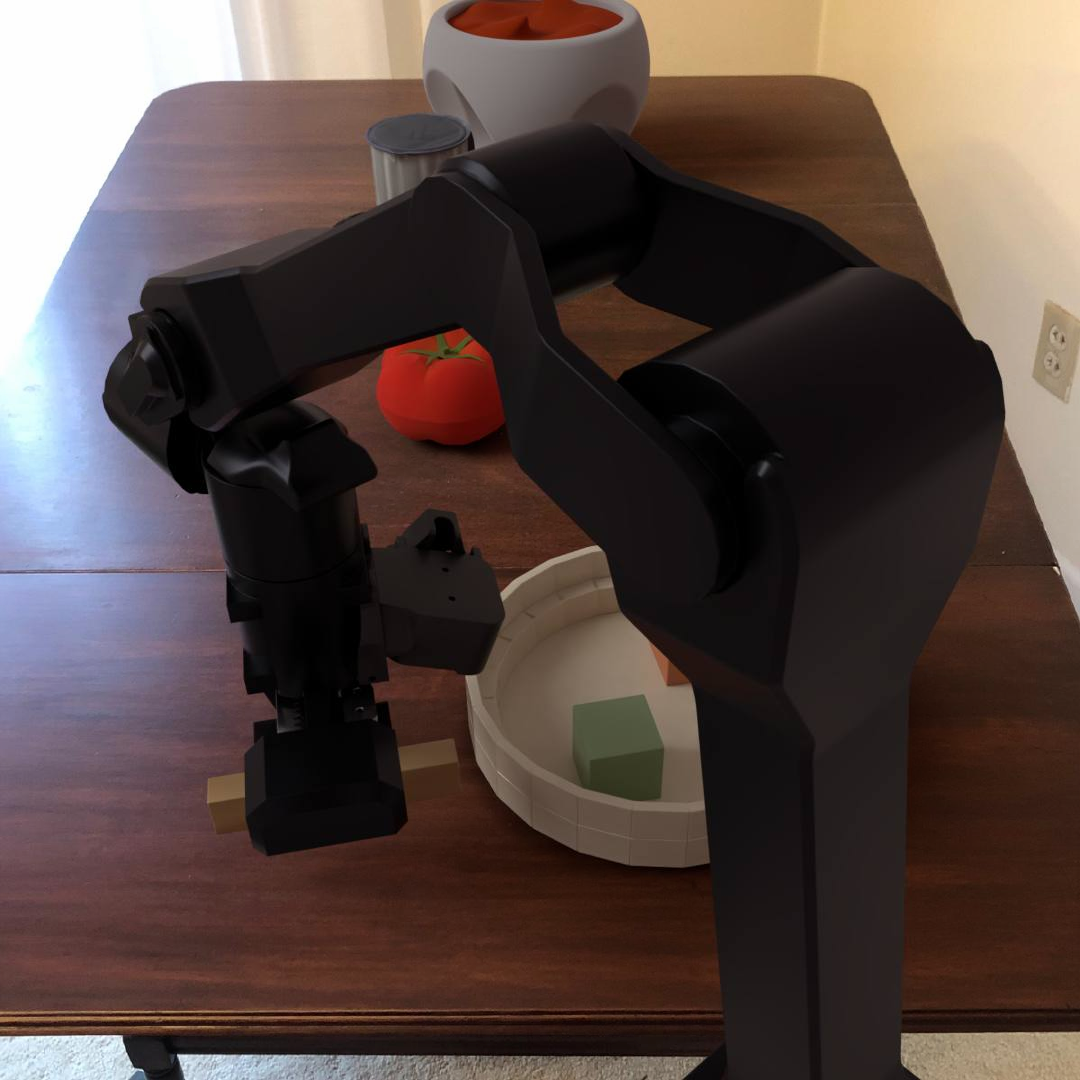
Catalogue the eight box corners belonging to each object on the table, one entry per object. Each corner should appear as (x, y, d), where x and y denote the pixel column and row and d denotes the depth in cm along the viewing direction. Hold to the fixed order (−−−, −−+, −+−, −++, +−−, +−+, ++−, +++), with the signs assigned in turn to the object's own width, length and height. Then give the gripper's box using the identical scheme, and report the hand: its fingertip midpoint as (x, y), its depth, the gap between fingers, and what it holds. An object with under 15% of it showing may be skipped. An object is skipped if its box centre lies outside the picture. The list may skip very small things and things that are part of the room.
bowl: (903, 835, 64) (920, 771, 61) (506, 908, 61) (503, 844, 58) (765, 580, 80) (773, 520, 77) (446, 627, 77) (441, 566, 74)
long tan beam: (461, 794, 61) (458, 761, 59) (216, 835, 59) (207, 803, 58) (456, 769, 62) (453, 737, 61) (216, 810, 60) (207, 777, 59)
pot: (653, 137, 144) (660, -25, 133) (636, 221, 125) (642, 41, 114) (454, 130, 147) (444, -29, 136) (408, 210, 128) (393, 34, 117)
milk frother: (475, 311, 111) (466, 150, 101) (302, 309, 111) (278, 149, 102) (487, 243, 122) (480, 93, 113) (330, 243, 122) (311, 93, 113)
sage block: (661, 798, 65) (664, 747, 63) (588, 811, 65) (589, 760, 62) (641, 743, 69) (644, 693, 66) (572, 755, 68) (572, 704, 66)
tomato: (491, 473, 90) (487, 386, 86) (357, 449, 93) (346, 363, 89) (537, 400, 98) (536, 317, 94) (412, 380, 101) (405, 298, 97)
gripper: (527, 663, 44) (535, 918, 54) (452, 398, 59) (469, 637, 68) (214, 711, 43) (280, 966, 52) (216, 427, 57) (268, 667, 67)
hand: (337, 788), depth 60 cm, fingers closed on long tan beam, 2 cm apart
